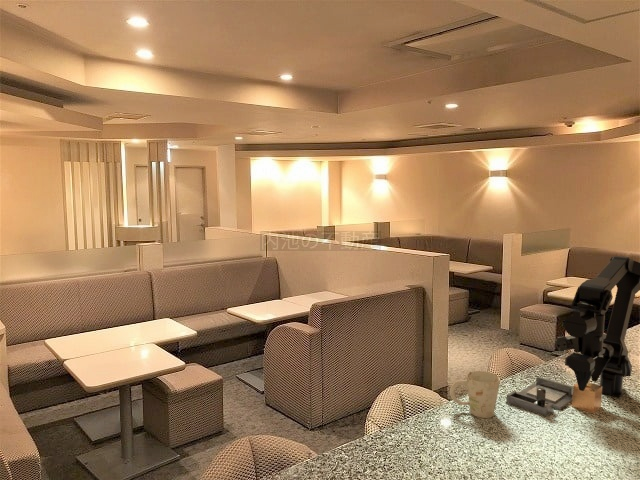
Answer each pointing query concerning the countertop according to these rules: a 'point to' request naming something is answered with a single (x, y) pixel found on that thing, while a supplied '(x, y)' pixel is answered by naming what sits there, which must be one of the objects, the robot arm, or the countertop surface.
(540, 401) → the lever
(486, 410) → the mug
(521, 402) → the lever track
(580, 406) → the block
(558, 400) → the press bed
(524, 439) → the countertop surface
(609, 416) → the countertop surface
